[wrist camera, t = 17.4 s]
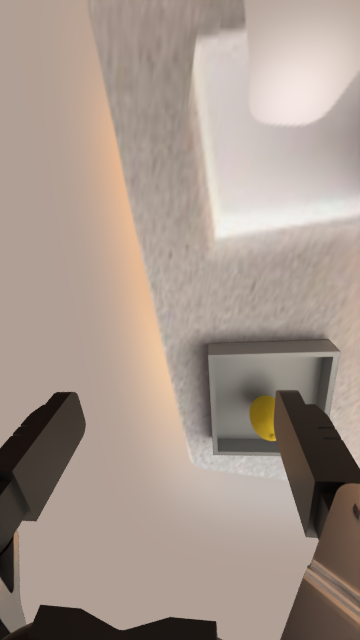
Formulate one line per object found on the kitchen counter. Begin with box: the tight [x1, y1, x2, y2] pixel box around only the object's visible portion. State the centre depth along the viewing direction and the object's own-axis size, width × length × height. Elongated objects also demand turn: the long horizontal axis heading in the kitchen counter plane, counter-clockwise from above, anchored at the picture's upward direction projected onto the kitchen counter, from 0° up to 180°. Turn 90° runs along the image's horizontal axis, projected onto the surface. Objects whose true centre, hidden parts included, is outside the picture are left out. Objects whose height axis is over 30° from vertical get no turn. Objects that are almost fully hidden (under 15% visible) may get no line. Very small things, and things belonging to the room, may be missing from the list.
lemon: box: [249, 395, 276, 441], centre depth 39 cm, size 6×6×8 cm
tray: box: [208, 339, 340, 456], centre depth 42 cm, size 18×20×4 cm
